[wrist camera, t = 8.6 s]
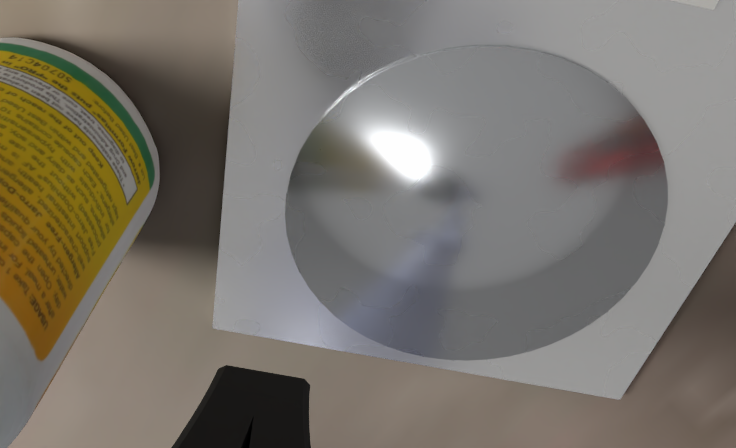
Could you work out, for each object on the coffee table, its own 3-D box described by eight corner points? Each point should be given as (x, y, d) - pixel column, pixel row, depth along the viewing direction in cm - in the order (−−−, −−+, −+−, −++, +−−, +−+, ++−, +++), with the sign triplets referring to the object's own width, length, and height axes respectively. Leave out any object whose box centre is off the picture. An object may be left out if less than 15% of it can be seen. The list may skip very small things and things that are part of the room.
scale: (617, 393, 19) (622, 407, 19) (214, 322, 18) (209, 335, 18) (1000, -201, 10) (1024, -200, 10) (272, -389, 10) (266, -397, 9)
